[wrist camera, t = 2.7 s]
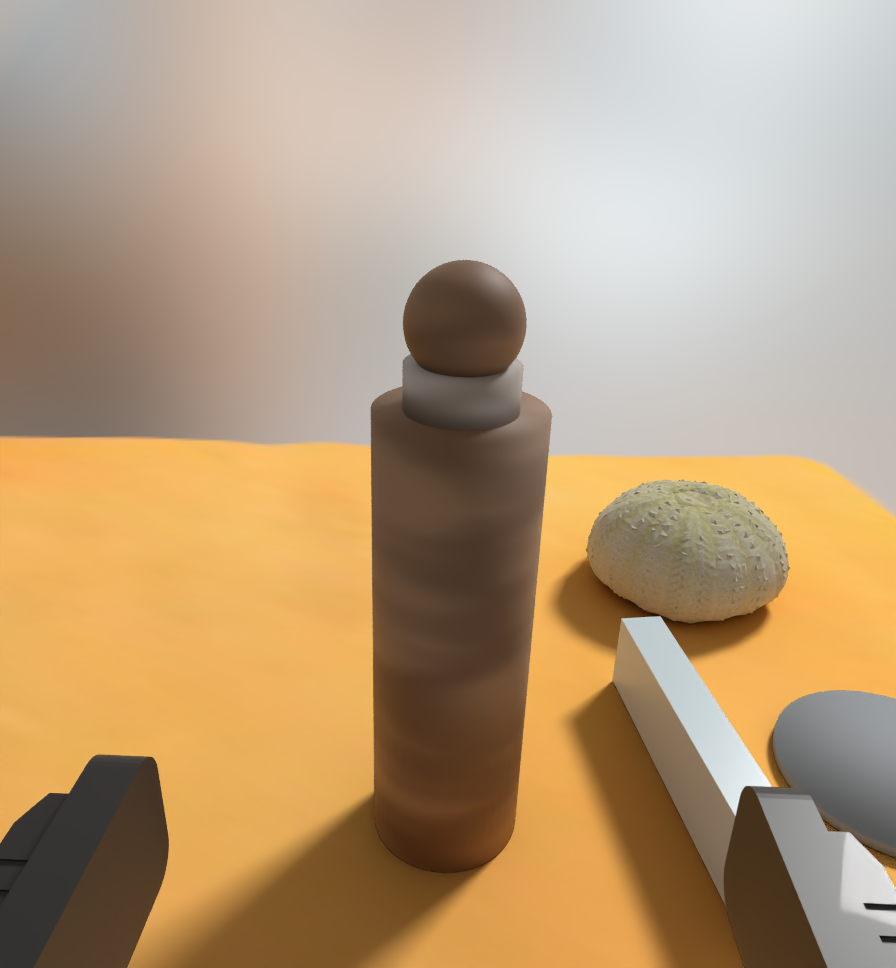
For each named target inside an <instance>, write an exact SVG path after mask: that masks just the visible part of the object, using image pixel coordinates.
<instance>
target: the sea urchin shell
mask: <svg viewBox="0 0 896 968" xmlns="http://www.w3.org/2000/svg"><path fill="white" fill-rule="evenodd" d="M586 551H587V553H588V556H587V557H588V559H589V562H590V564H591V567H592V570H593V572H594V575H595V576H597V577H598V578H599V580H600V581H601V582H602V583H604V584H605V585H607V586H609V588H610V589H612V590H613V592H614V593H616V594H618V596H619V597H623V598H624V599H628V600H630V601H632V602H633V603H635V604H636V605H637V606H638V607H640V608H642V609H643V610H646V612H652V613H655V614H658V615H661V616H664V617H666V618H669V619H671V620H672V621H681V622H687V623H690V624H691V623H692V624H693V623H695V622H701V621H719V620H721V621H723V620H725V619H726V618H730V617H733V616H737V615H746V614H747V613H753V612H754V611H755V610H756V609H759V608H760V607H761V606H763V605H765V604H767V603H769V602H772V601H773V600H774V598H776V597H778V595H779V593H780V591H781V590H782V588H783V587H784V585H785V583H786V580H787V577H788V570H789V569H790V567H789V564H788V556H787V555H788V554H787V553H786V548H785V543H784V541H783V539H782V533H781V532H779V531H778V530H777V525H774V524H773V523H772V522H771V521H770V520H769V517H767V516H766V515H764V513H763V511H762V510H760V508H758V507H756V506H755V505H754V502H749V501H748V500H746V498H744V497H743V496H741V495H740V494H739V493H736V492H735V491H732V490H730V489H726V488H723V487H721V486H718V485H710V484H707V483H706V482H696V481H693V482H691V481H684V480H681V481H680V480H679V481H670V480H662V481H655V482H648V483H645V484H644V483H643V484H641V485H640V486H638V487H637V488H634V489H630V490H628V491H627V492H624V493H622V495H621V496H620V497H618V498H616V499H615V501H614V502H612V503H611V504H610V505H608V506H607V508H606V509H604V510H603V511H602V512H600V513H599V517H598V518H597V519H596V520H595V521H594V525H593V527H592V529H591V533H590V536H589V540H588V546H587V549H586Z"/></svg>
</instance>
